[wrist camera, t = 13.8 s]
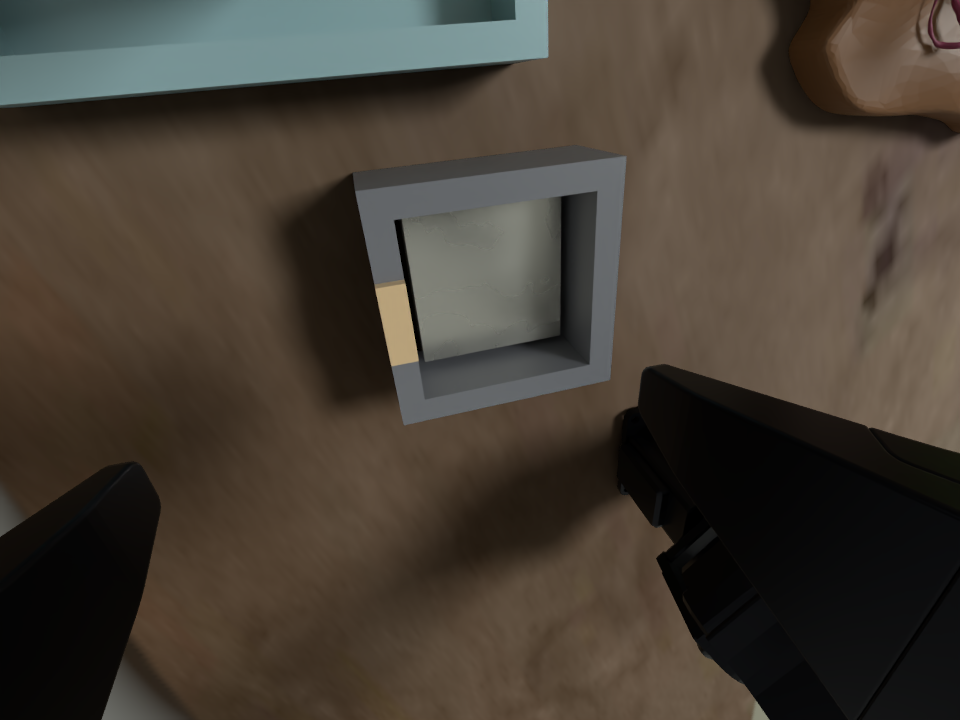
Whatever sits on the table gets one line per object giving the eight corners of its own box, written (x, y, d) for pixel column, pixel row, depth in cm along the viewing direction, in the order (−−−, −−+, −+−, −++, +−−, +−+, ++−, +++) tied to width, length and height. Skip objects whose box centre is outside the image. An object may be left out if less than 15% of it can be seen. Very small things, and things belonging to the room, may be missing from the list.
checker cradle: (576, 144, 19) (632, 157, 15) (571, 339, 24) (614, 384, 20) (352, 172, 18) (355, 193, 14) (394, 374, 22) (404, 431, 18)
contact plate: (546, 186, 19) (561, 193, 18) (547, 321, 22) (560, 335, 21) (397, 207, 18) (401, 215, 17) (420, 346, 21) (425, 361, 20)
